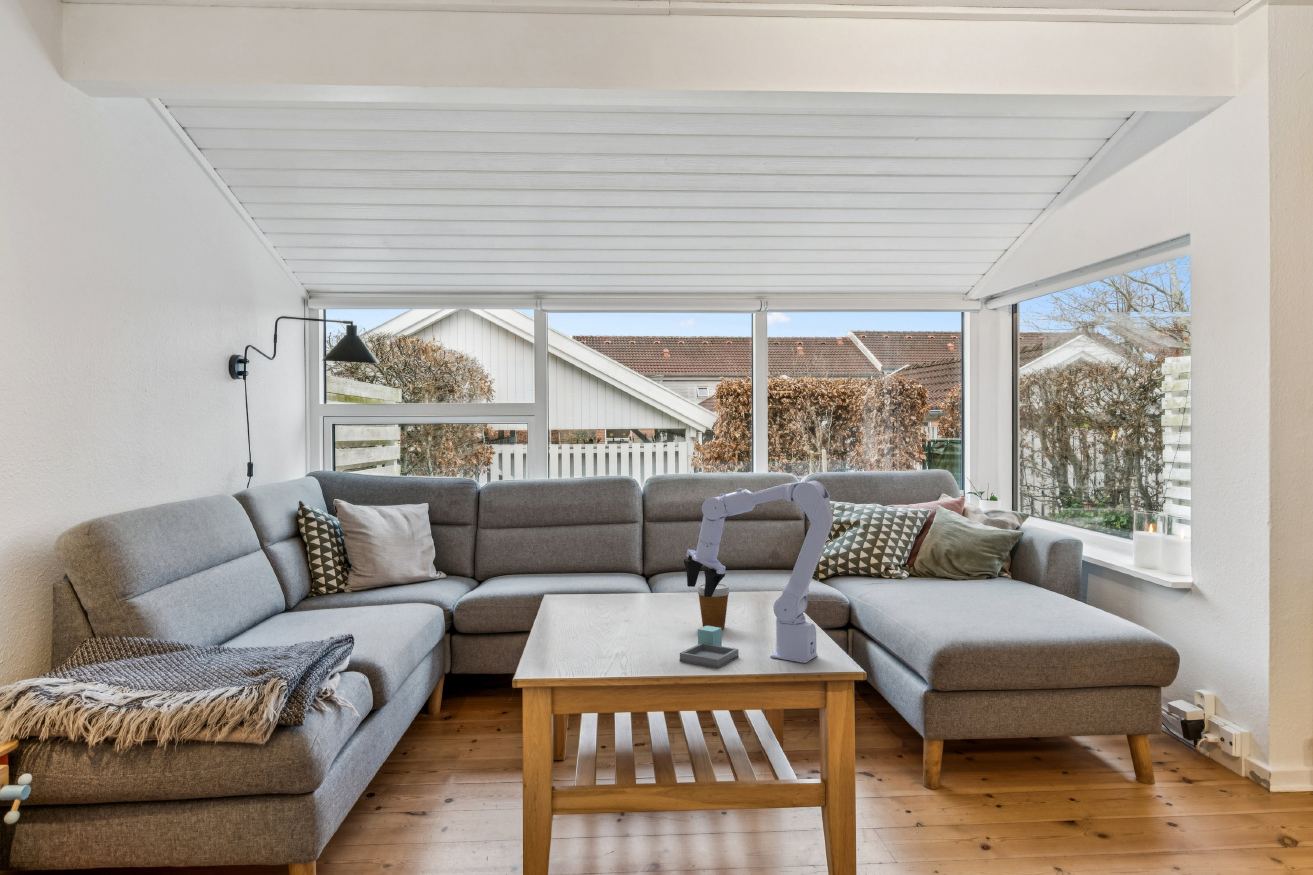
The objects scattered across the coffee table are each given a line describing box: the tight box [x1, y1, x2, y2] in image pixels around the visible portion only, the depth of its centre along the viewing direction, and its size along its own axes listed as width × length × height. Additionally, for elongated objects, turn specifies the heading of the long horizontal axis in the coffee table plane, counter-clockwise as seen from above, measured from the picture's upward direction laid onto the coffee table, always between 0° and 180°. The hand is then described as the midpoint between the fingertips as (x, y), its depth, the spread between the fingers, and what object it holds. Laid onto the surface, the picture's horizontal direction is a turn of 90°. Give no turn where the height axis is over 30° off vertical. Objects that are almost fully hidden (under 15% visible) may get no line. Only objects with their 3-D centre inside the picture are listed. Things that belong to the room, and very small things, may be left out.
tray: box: [679, 643, 739, 669], centre depth 177 cm, size 11×11×2 cm
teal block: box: [697, 626, 723, 646], centre depth 187 cm, size 4×4×5 cm
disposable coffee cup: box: [696, 583, 731, 630], centre depth 207 cm, size 10×10×12 cm
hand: (699, 591), depth 190 cm, fingers open, 7 cm apart
